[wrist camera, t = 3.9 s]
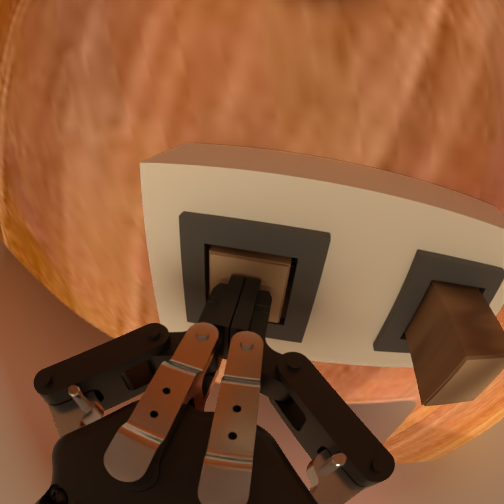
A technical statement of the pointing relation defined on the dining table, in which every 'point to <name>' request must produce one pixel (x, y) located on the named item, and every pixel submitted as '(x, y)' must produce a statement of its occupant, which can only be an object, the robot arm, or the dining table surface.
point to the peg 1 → (252, 272)
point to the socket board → (316, 244)
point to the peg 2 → (454, 344)
